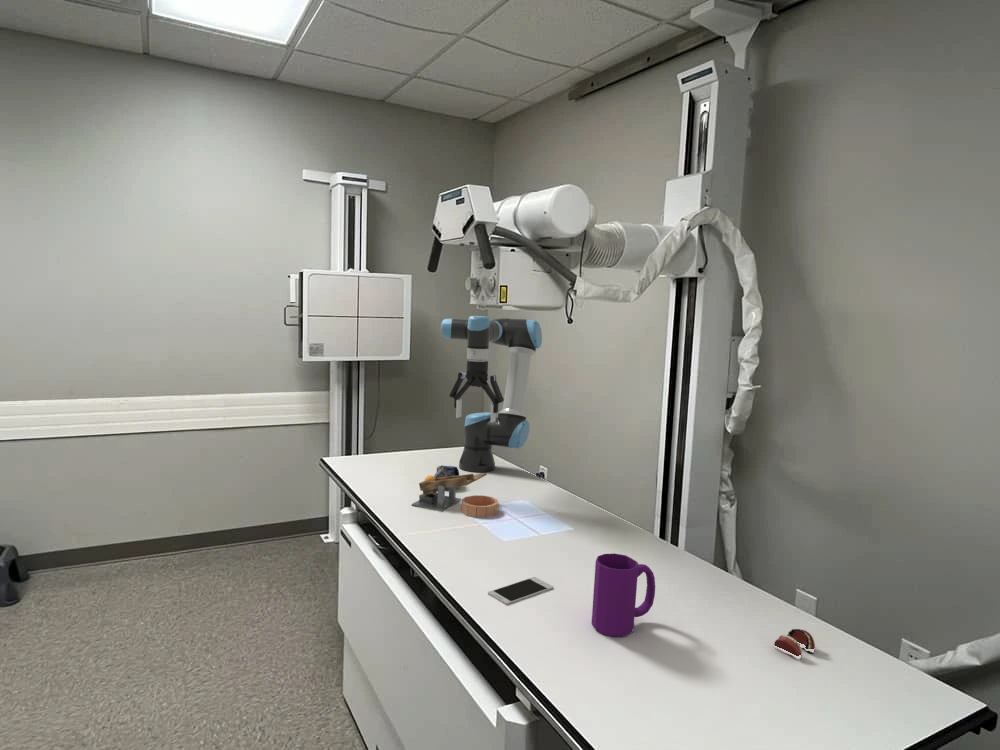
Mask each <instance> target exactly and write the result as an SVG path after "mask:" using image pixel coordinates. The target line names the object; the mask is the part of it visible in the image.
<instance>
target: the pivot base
mask: <svg viewBox="0 0 1000 750" xmlns="http://www.w3.org/2000/svg"><path fill="white" fill-rule="evenodd" d="M456 494H457V488H456V487H449V490H448V495H446V490H445V485H438V492H436V493H434V494H427V495H423V493H421V494H419V495H418V498H419V499H418V500H417V501H415V502H413V503H411V506H412V507H416V508H422V509H427V510H432V511H437V512H443V511H445V510H447V509H448V508H450V507H452V506H454V505H456V504H458V503H459V502H462V498H459V497H456Z"/></svg>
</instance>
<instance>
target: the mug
mask: <svg viewBox="0 0 1000 750" xmlns="http://www.w3.org/2000/svg"><path fill="white" fill-rule="evenodd" d="M594 567H595V569H594V582H593V583H594V584H593V596H592V610H591V625H592V626H593V628H594V630H595V631H597V632H599V633H600V634H603V635H605V636H608V635H609V637H614V638H616V637H619V636H620V637H626V636H628V635H629V634H631V633H633V632H634V627H635V618H639V617H643V616H644V615H646V614H647V613H648V612H649V611H650V610H651V608H652V607H653V604H654V600H655V595H656V577H655V575H654V572H653V571H652V569H651V568H650V567H649V566H648V565H647V564H643V563H639V562H638V561H637V560H635V559H633V558H632V557H630V556H628V555H626V554H620V553H603V554H600V555H598V556H597V557H596V559H595V565H594ZM643 573H644V574H645V576H646V591H645V596H644V601H643V602H642V603H641V604H640V605H639V606H638V607H636V601H637V600H636V599H637V588H638V578H639V577H640V576H641V575H642V574H643ZM620 637H619V638H620Z"/></svg>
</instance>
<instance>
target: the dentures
mask: <svg viewBox="0 0 1000 750" xmlns="http://www.w3.org/2000/svg"><path fill="white" fill-rule="evenodd" d="M797 642H799V643H801V644H804V645H805V646H806V647H805V648H806V649H814V648H816V645H815V640H814V638H813V636H812V635H811V633H810V632H808V630H806V629H805V630H804V629H800V628H791V629H790V630H789V631H788V633H787V634H782V635H780V636H779V637H778V638H777V639H776V640H775V641H774V644H773V646H774V645H775V646H777V647H779V648H782V649H784V650H786V651H788V652H790V653H792V654H794V655H796V656H799V655H801V654H802V655H803V653H802V652H803V649H802V648H801V647H800V644H799V643H797ZM802 655H801V656H802Z"/></svg>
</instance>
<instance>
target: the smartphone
mask: <svg viewBox="0 0 1000 750" xmlns="http://www.w3.org/2000/svg"><path fill="white" fill-rule="evenodd" d="M553 589H554V585H551V584H550V583H547V582H545V581H544V580H541V579H540V578H538V577H536V576H532V577H528V578H527V579H524V580H519V581H518V582H517V581H516V582H514V583H510V584H509V585H508V584H507V585H505V586H502V587H499V588H496V589H493V590H490V591H488V592H487V594H488V596H490V597H492V598H493V599H495V600H497V601H498V602H501V603H502V604H503V605H505V606H509V605H511V604H515V603H517V602H520V601H522V600H525V599H529V598H532V597H534V596H537V595H540V594H543V593H546V592H548V591H551V590H553Z"/></svg>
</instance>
